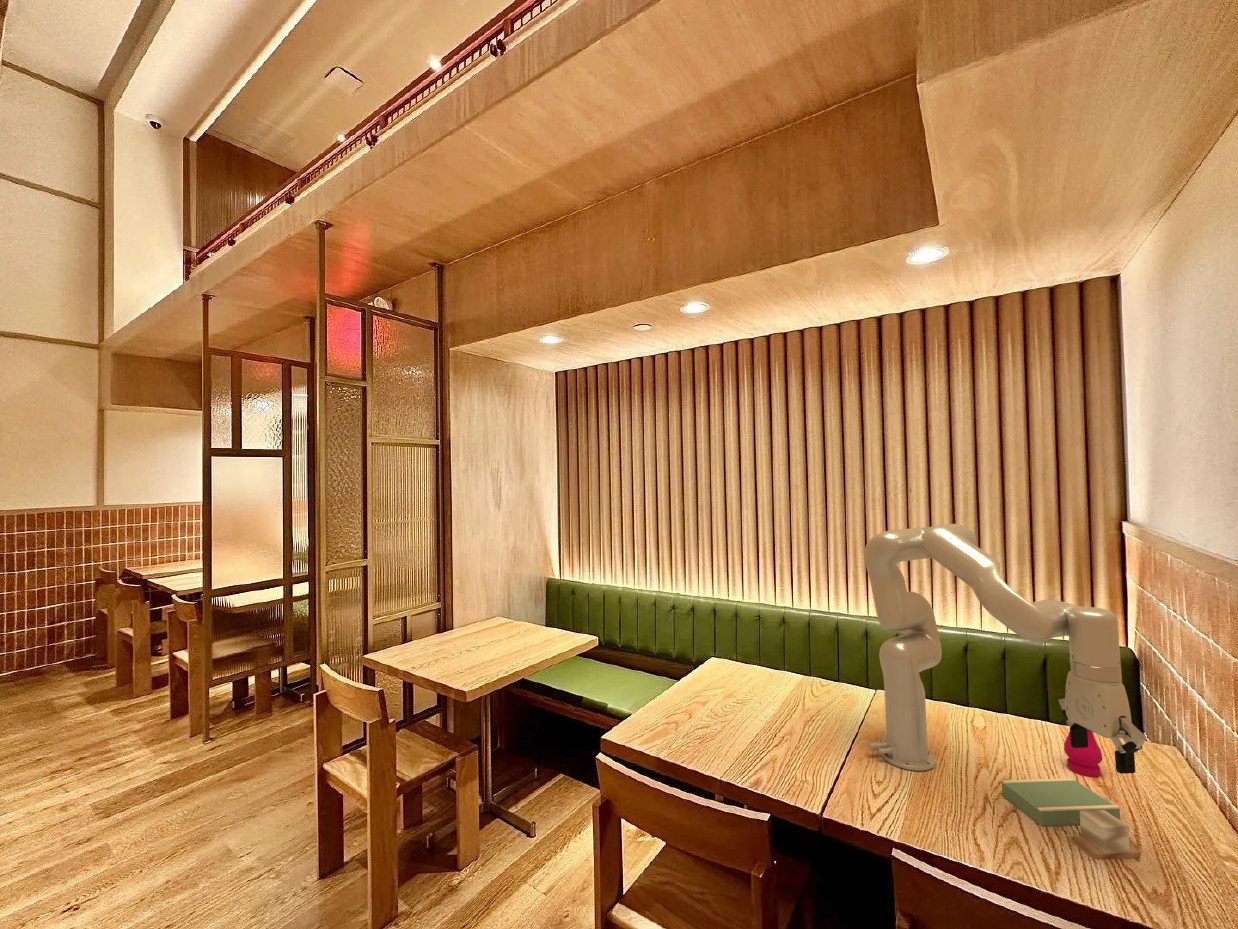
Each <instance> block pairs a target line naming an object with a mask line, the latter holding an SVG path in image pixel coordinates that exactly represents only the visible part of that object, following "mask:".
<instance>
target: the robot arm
mask: <svg viewBox="0 0 1238 929" xmlns="http://www.w3.org/2000/svg"><path fill="white" fill-rule="evenodd" d="M863 551H864V552H863V559H864V564H865V568H866V572H867V574H868V578H869V581H870V586H871V593H872V598H873V602H874V607H875V612H876V617H877V620H878V622H879V624H880V626H881V627H882V628H883V629H884V630H886V631H887V632H888V631H889V632H893V633H894V632H895V633H896V632H903V634H902V635H898V636H894V637H891V638H889V639H887V640H885V641H884V642H883V643H882V644H881V646H880V648H879V651H878V652H879V654H878V655H879V656H878V658H879V662H880V667H881V671H882V676H883V686H884V706H885V708H884V709H885V710H884V711H885V731H886V736H882V740H880V741H878V742H876V741H868V743H867V745H868V749H869V750H870V751H878V754H879V755H881V757H882V758H883V759H884V760H885V761H886V762H888V763H889V764H891V765H893V766H894V767H898V768H901V769H905V770H909V771H914V772H915V771H918V772H919V771H920V772H923V771H929V770H931V769H933V768H934V767H935V766H936V760H935V759H936V758H935V757H934V756H933V754H932V753H931V752H929V748H928V727H927V725H928V723H927V705H926V704H927V703H926V702H927V701H926V692H925V688H924V684H923V681H922V680H921V675H920V672H922V671H926V670H928V669H931V668H935V667H936V666H937V665H938V664H939V663H940V661H941V659H942V654H943V651H942V650H943V649H942V643H941V640H940V638H941V637H940V634H939V630H938V626H937V622H936V617H935V614H934V613H935V612H934V610H933V607H932V605H931V604H930V602H929V601H928V600H927V598H926V597H925V596H924V595H922V594H921V593H919V592H915V591H908V590H907V586H906V580H905V577H904V574H903V572H902V571H901V570H900V568H899V567H898V565H897V564H898V563H901V562H902V563H903V562H910V561H915V560H923V559H924V560H925V559H933V560H935V562H937V563H938V564H940V565H941V566H942V567H944V568H945V569H946V570H948V571H949V572H951V573H952V574H953V575H954V576H956V577H957V578H959V580H961V581H962V582H963V583H965V584H966V585H967V586H969V587H970V588H971V589H972V591H973V593H974V594H975V595H974V596H975V597H976V598H977V600H978V602H979V603H980V604H981V606H982V607H983V608H984V609H985V610H986V611H987V612H988V613H989V614H990V615H991V616H992V617H993V618H995V620H997V621H999V623H1000V624H1002V625H1004V626H1005V627H1006V628H1007V629H1009V630H1010V631H1012V632H1013V633H1014V634H1016V635H1018V636H1019V637H1021V638H1022V639H1025V640H1028V641H1031V642H1036V643H1038V642H1042V643H1043V642H1046V641H1048V640H1052V639H1055V638H1060V637H1068V643H1069V644H1068V645H1069V664H1070V670H1069V671H1068V673H1067V676H1066V682H1065V694H1064V695H1065V696H1064V697H1063V698H1059V699H1058V703H1059V706H1060V708H1061V710H1062V715H1063V716H1064V717H1065V719H1066V725H1067V726H1068V728H1069V732H1070V741H1071V746H1072V747H1073V748H1087V747H1088V734H1087V729H1088V730H1090V731H1092V732H1093V734H1097V735H1099V736H1100V737H1102V738H1104V739H1105V738H1106V739H1111V741H1112V743H1113V744H1114V746H1115V747H1116V749H1117V750H1114V761H1115V762H1114V763H1115V771H1116V772H1117V773H1118V774H1120V775H1123V774H1124V775H1125V774H1135V773H1136V763H1135V762H1136V760H1135V754H1137V753H1138V751H1139V750H1141V749H1142V748H1143V745H1144V744H1145V742H1146V740H1147V737H1146V735H1145V734H1144V733H1143V732H1142V731H1140V729H1138V728H1137V726H1136V725H1134V724H1133V722H1132V715H1131V708H1130V702H1129V698H1128V695H1127V694H1128V693H1127V690H1126V687H1125V685H1124V683H1123V679H1122V676H1123V675H1122V665H1121V664H1122V663H1121V651H1120V649H1121V648H1120V636H1119V635H1120V634H1119V622H1118V617H1117V615H1116V613H1114V612H1112V611H1111V610H1108V609H1106V608H1101V607H1095V606H1094V607H1093V606H1080V605H1076V604H1072V603H1069V602H1065V601H1061V600H1056V599H1051V598H1050V599H1042V600H1038V601H1034V602H1030V601H1029V600H1027V599H1026V598H1025V597H1023V596H1022V595H1020V594H1018V593H1017V592H1016V591H1014V590H1013V589H1012V588H1011V587H1010V586H1009V585H1008V584H1007V583H1006V582H1005V581H1004V580H1003V578H1002V576H1001V573H1000V572H1001V570H1000V568H1001V564H1000V561H999V560H998V559H997V558H995V557H994V556H992V555H991V554H989V553H988V552H987V551H984V550H983V549H982V548H980V547H979V546H978V540H977V537H976V535H975V534H974V532H973V531H972V530H971V529H970V528H969V527H967V526H965V525H962V524H958V523H949V524H939V525H934V526H927V527H925V526H924V527H913V528H901V529H891V530H885V531H882V532H879V533H877V534H876V535H874V536H873V537H872V538H870V539H869V541H868V542H866V545H865V547H864V550H863ZM1121 739H1122V740H1123V743H1124V744H1123V743H1122V741H1121Z"/></svg>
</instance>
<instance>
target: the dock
mask: <svg viewBox="0 0 1238 929" xmlns="http://www.w3.org/2000/svg"><path fill="white" fill-rule="evenodd" d="M1001 794H1002V796H1003V797H1004V798H1005V799H1006V800H1008V801H1009V802H1010V803H1011V804H1013V805H1014V806H1016V807H1017V808H1018V809H1019V810H1020V811H1021V812H1023V813H1024V814H1025V815H1027V816H1028V817H1029V818H1031V819H1032V820H1033V821H1034V822H1036V824H1038V825H1040V826H1041V827H1047V826H1048V827H1049V826H1079V825H1080V811H1091V810H1105V811H1106V812H1108V813H1109V814H1111V815H1112V816H1114V817H1115V818H1117V819H1118V820H1120V821H1121V814H1120V813H1121V812H1120V810H1121V809H1120V806H1118V805H1116V804H1113V803H1111V802H1110V801H1108V800H1107V799H1105V798H1104V797H1102V796H1100V795H1099V794H1097V793H1095V792H1094V791H1092V790H1091V789H1089V788H1088V787H1086V786H1085V785H1083V784H1081V783H1080V782H1078V781H1077V779H1075V777H1074V778H1070V777H1069V778H1045V779H1044V778H1043V779H1042V778H1041V779H1040V778H1039V779H1015V780H1014V779H1013V780H1001Z"/></svg>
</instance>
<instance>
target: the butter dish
mask: <svg viewBox="0 0 1238 929" xmlns="http://www.w3.org/2000/svg"><path fill="white" fill-rule="evenodd" d="M1070 839H1071V843H1072V844H1074V846H1075V847H1078V848H1079V849H1080V850H1081V851H1083V852H1084V853H1085V854H1086V855H1088V856H1089V857H1091V858H1092V859H1093V860H1114V859H1113V858H1116V859H1115V860H1117V859H1119V860H1122V859H1124V860H1125V859H1140V858H1141V852H1140V851H1138V850H1137V849H1136V848H1134V847H1133V846H1132V845H1130V831H1129V825H1127V824H1126V823H1125V822H1123V821H1121V819H1120V820H1118V819H1117V818H1115V817H1114V816H1112V815H1111V814H1109V813H1108V812H1106V811H1105V810H1091V811H1080V835H1079V836H1078V835H1077V836H1073V835H1072V836H1071V837H1070ZM1109 858H1110V859H1109Z"/></svg>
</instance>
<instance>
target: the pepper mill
mask: <svg viewBox="0 0 1238 929" xmlns="http://www.w3.org/2000/svg"><path fill="white" fill-rule="evenodd" d="M1087 734H1088V747H1087V748H1073V747H1072V746H1071V741H1070V731H1069V732H1068V735H1067V737H1066V739H1065V741H1064V744H1063V750H1064V753H1065V755H1066V756H1067V757H1068V758H1067V759H1066V766H1067V768H1068V769H1069V770H1070V771H1072V772H1074V773H1075V774H1078V775H1081V776H1085V777H1090V778H1096V777H1097V778H1098V777H1099V776H1101V767H1100V765H1099V764H1100V763H1101V762H1102V761H1103V752H1102V751H1101V748H1100V746H1099V744H1098V742H1097V741H1096V738H1095V736H1094V732H1092V731H1090V730H1088V729H1087Z"/></svg>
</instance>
